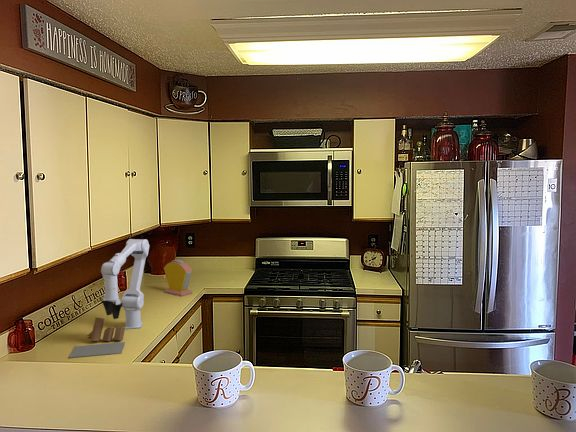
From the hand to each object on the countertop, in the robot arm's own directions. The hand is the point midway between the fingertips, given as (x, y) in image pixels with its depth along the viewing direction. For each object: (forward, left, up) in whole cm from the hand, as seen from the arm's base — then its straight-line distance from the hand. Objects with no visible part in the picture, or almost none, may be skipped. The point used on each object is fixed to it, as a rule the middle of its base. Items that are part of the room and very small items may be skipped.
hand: (112, 316), depth 218 cm
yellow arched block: (-77, +29, -10) cm, 83 cm away
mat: (+15, -5, -10) cm, 18 cm away
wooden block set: (+2, -4, -11) cm, 12 cm away
